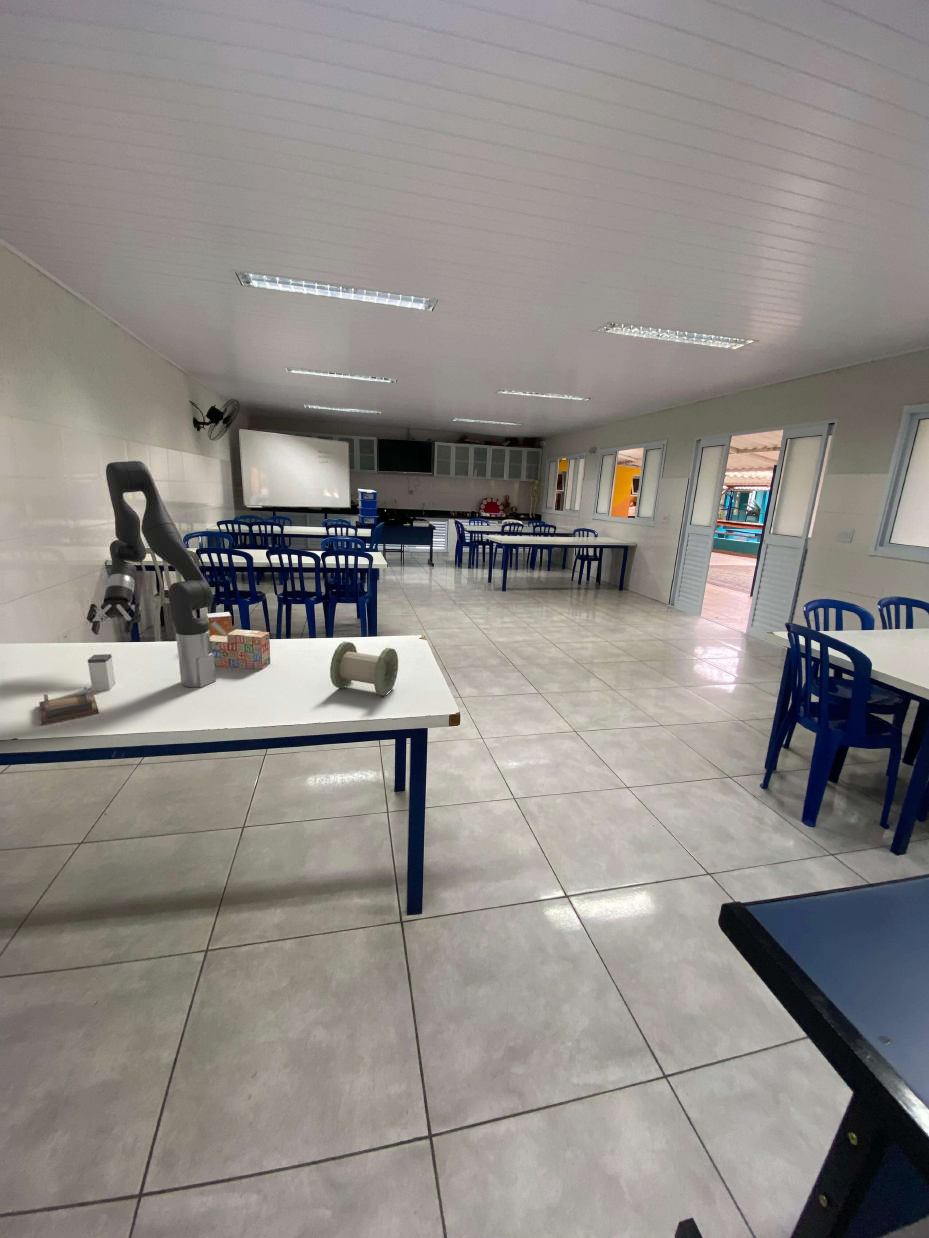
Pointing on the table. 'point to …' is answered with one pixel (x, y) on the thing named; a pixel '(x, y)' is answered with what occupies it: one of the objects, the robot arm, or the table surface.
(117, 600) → the robot arm
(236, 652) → the stack of blocks
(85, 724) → the table surface
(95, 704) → the holder board
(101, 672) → the connector plug
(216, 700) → the table surface
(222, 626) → the small box
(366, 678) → the spool
